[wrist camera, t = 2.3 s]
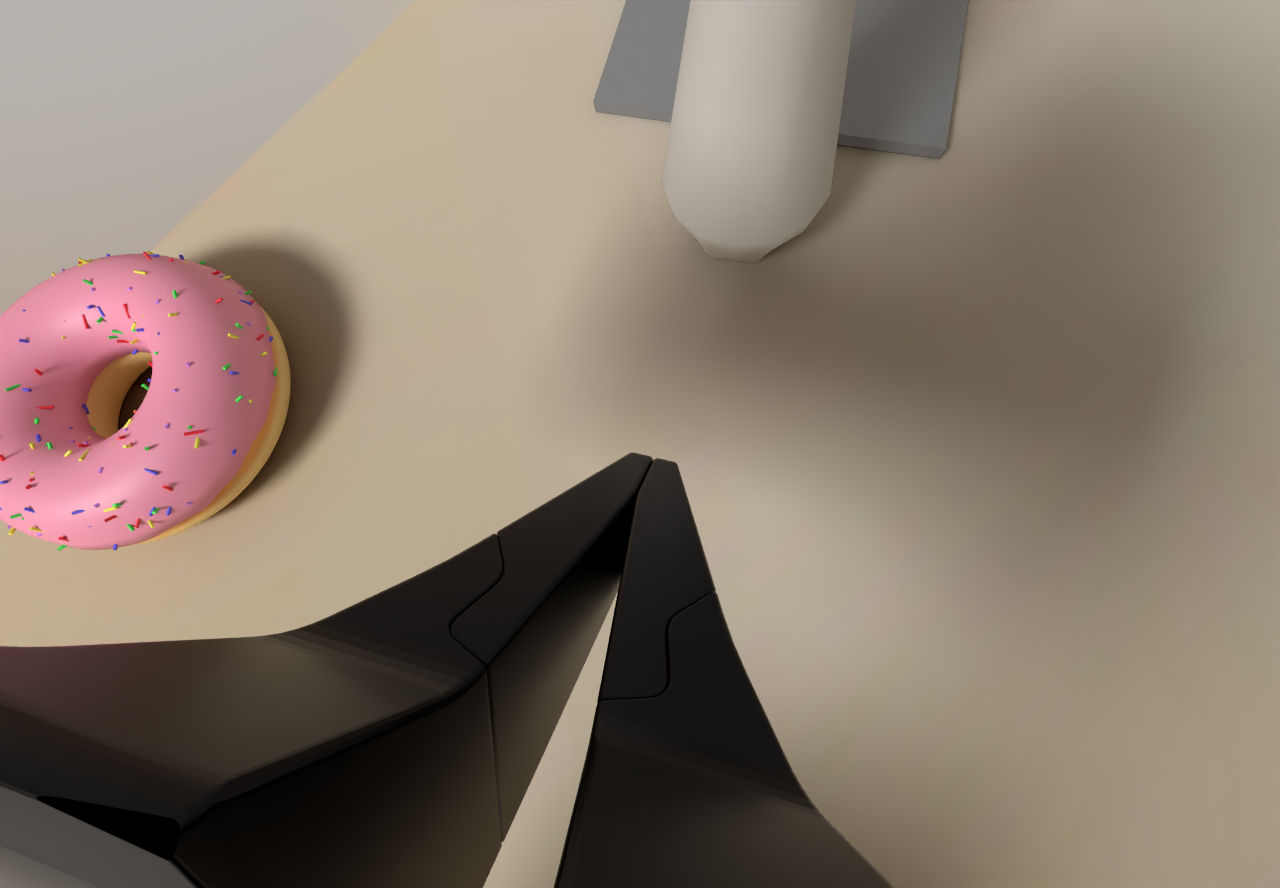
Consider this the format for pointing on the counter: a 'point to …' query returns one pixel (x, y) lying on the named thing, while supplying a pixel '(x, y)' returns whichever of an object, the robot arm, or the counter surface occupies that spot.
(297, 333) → the counter surface
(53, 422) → the doughnut
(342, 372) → the counter surface
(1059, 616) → the counter surface
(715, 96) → the salt shaker
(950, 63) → the mat
